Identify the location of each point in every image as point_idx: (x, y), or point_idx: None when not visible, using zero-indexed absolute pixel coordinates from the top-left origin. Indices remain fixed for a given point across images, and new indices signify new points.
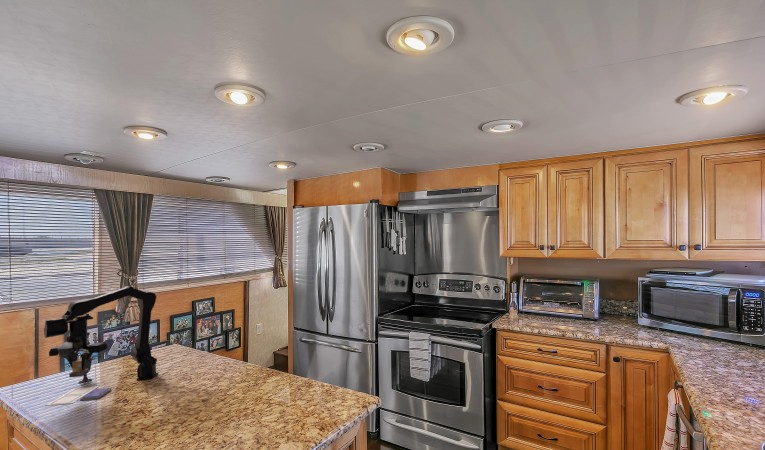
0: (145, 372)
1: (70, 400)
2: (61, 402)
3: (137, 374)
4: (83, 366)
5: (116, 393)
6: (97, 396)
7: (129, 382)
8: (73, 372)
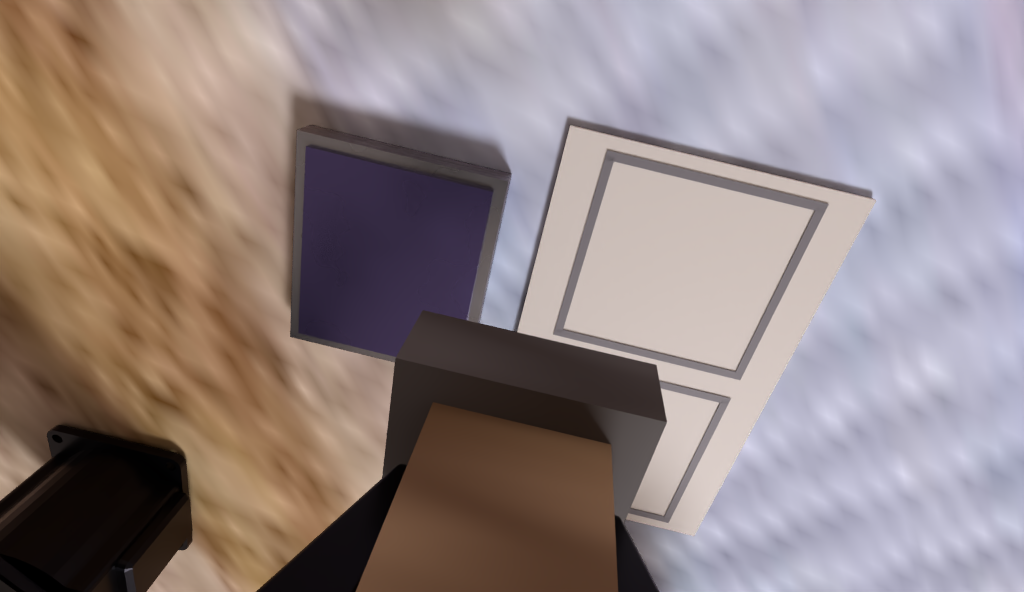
0: (54, 491)
1: (623, 220)
2: (709, 207)
3: (168, 516)
4: (344, 515)
5: (193, 207)
6: (312, 135)
7: (230, 441)
8: (587, 439)
